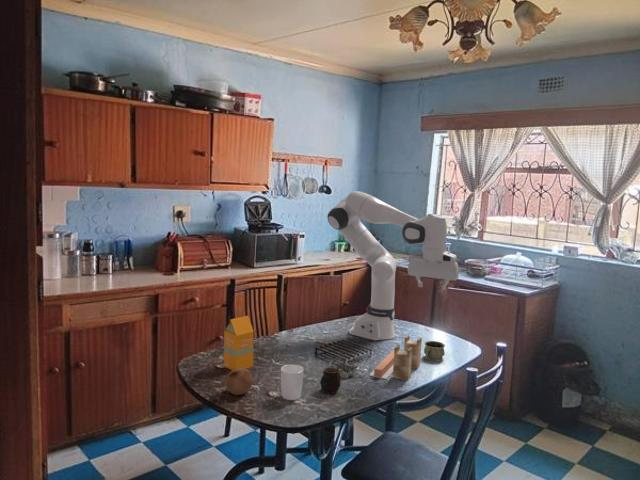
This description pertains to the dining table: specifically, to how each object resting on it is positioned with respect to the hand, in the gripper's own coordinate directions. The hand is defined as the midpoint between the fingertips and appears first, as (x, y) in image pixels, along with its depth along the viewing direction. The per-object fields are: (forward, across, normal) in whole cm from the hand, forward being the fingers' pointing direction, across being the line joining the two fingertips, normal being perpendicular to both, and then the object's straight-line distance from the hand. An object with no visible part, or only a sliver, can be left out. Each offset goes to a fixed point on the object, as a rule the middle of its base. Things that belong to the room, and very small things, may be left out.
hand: (431, 288), depth 208 cm
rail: (+32, -13, -11) cm, 37 cm away
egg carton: (+33, -27, -26) cm, 50 cm away
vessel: (+33, +1, +10) cm, 34 cm away
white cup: (+33, -34, -55) cm, 72 cm away
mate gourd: (+33, -24, -44) cm, 59 cm away
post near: (+32, -5, -18) cm, 38 cm away
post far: (+32, -5, -4) cm, 33 cm away
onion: (+32, -51, -62) cm, 86 cm away
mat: (+32, -13, -11) cm, 37 cm away
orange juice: (+32, -65, -42) cm, 84 cm away
